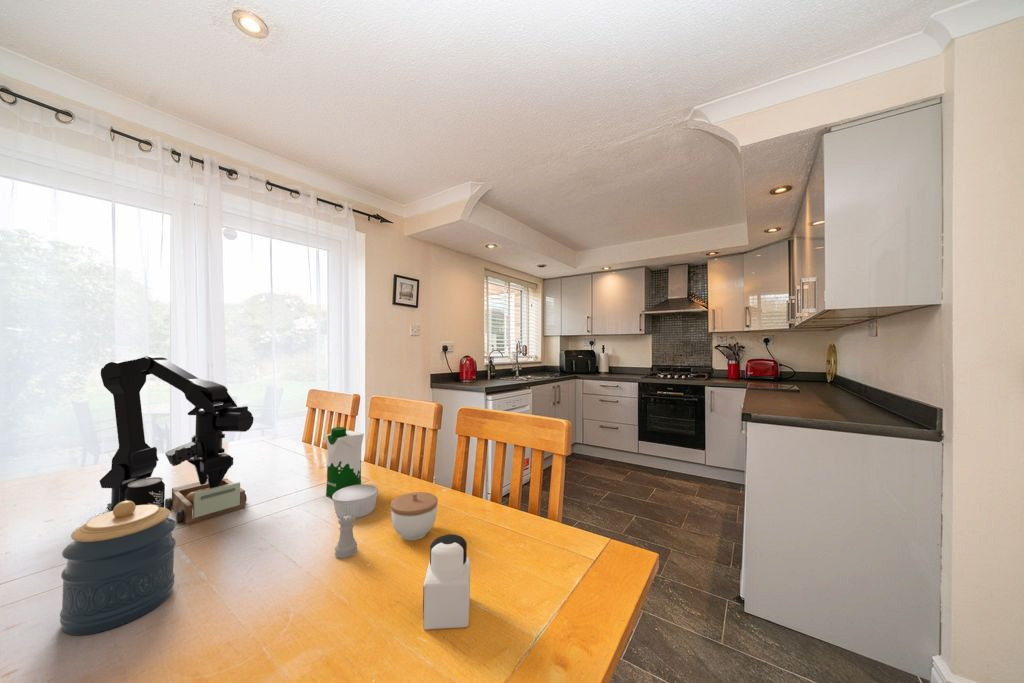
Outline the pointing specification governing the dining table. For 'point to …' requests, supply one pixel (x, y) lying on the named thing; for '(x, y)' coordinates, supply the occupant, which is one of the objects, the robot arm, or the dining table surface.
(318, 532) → the dining table surface
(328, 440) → the milk carton
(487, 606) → the dining table surface
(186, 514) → the wooden drawer box
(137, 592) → the canister
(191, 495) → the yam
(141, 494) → the beverage can
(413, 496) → the lidded jar
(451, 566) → the white block figurine
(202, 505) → the tailgate
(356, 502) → the ramekin
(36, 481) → the dining table surface
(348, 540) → the rook chess piece
